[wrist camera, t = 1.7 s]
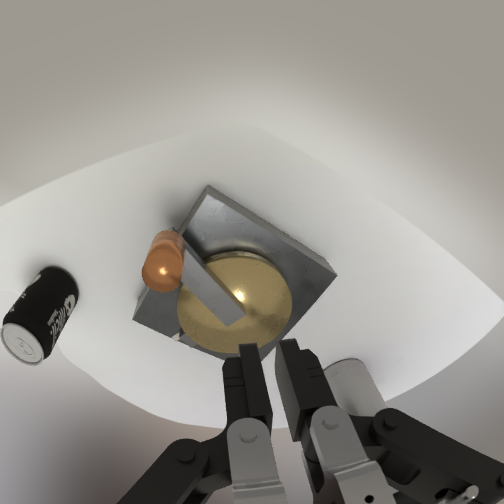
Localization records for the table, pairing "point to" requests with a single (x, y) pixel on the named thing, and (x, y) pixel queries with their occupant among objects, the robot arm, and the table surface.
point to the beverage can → (39, 316)
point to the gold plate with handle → (219, 294)
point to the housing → (246, 240)
